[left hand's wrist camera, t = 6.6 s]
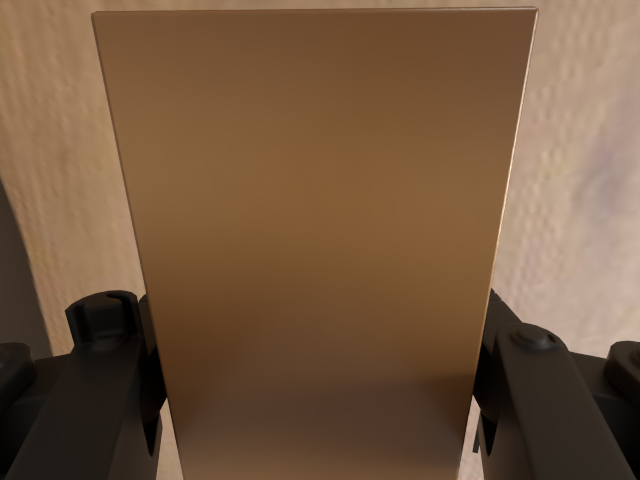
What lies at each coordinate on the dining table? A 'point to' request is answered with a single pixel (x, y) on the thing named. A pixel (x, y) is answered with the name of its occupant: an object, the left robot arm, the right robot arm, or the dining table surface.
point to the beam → (317, 225)
